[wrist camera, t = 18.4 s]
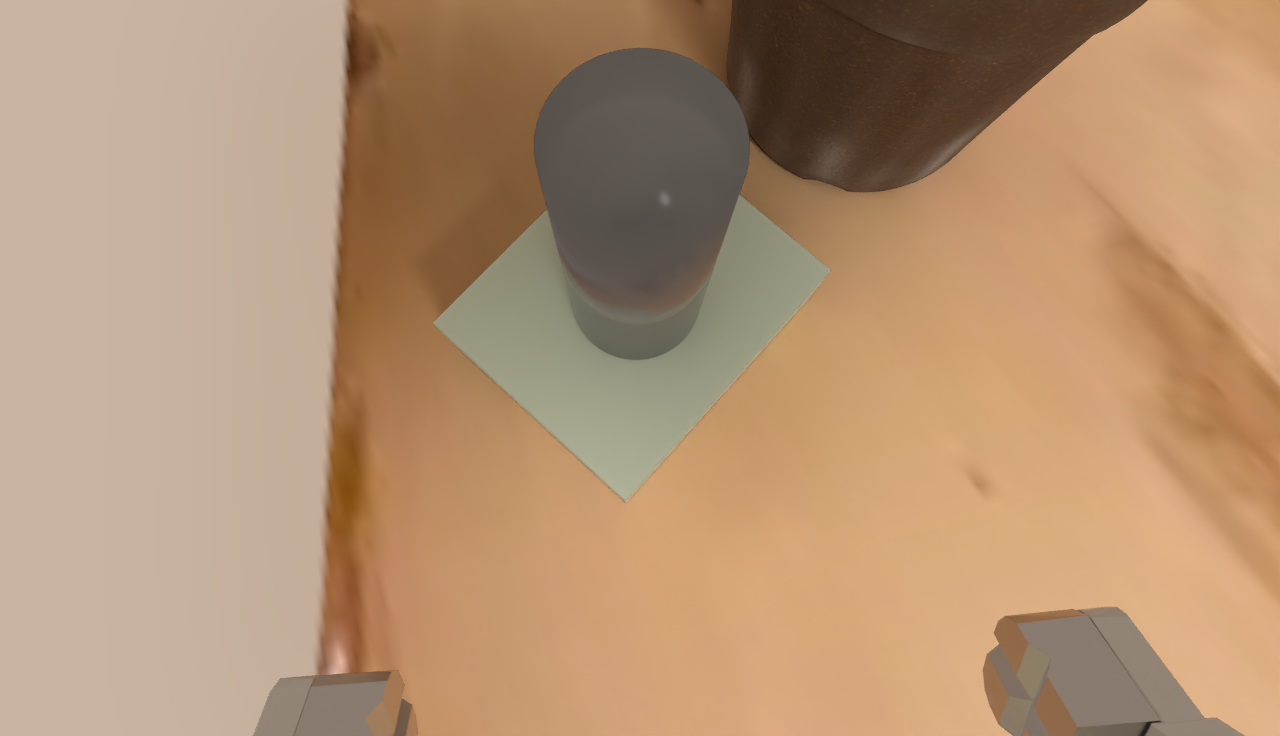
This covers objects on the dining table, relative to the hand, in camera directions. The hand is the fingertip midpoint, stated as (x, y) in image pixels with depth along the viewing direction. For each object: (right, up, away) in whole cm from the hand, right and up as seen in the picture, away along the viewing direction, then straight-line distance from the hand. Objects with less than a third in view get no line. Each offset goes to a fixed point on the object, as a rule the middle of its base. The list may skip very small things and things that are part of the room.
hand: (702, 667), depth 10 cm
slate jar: (-1, +7, +19) cm, 20 cm away
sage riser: (-1, +6, +23) cm, 24 cm away
